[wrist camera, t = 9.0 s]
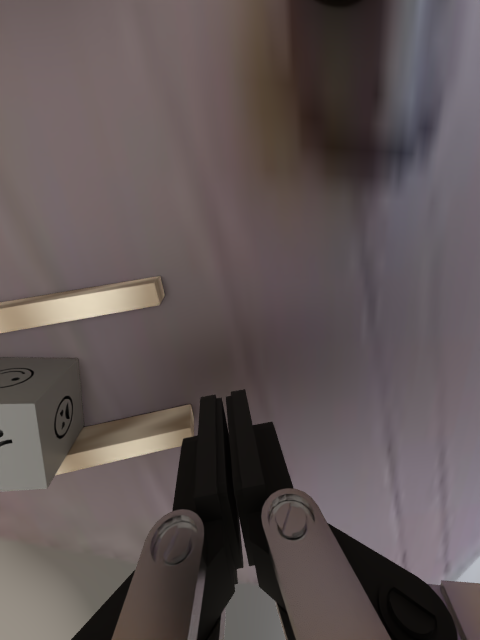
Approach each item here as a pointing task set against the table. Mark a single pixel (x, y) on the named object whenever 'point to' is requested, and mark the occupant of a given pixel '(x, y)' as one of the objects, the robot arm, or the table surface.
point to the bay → (116, 435)
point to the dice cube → (37, 419)
